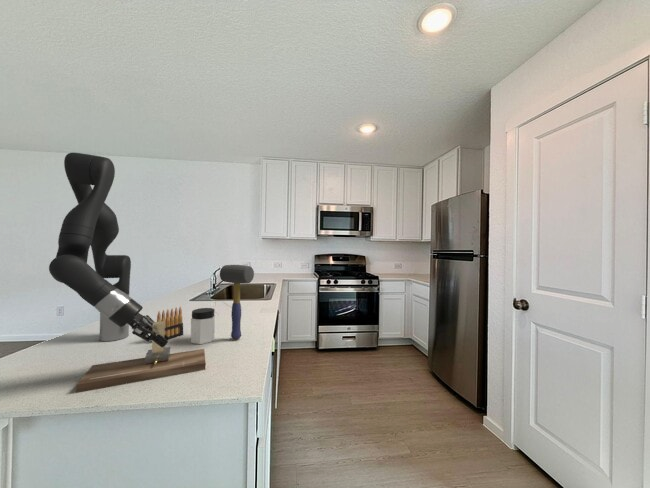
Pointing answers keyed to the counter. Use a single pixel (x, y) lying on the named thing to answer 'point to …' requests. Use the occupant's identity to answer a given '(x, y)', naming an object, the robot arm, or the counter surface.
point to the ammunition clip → (172, 323)
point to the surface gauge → (157, 351)
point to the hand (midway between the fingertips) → (166, 342)
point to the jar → (202, 326)
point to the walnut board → (140, 370)
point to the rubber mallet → (236, 291)
